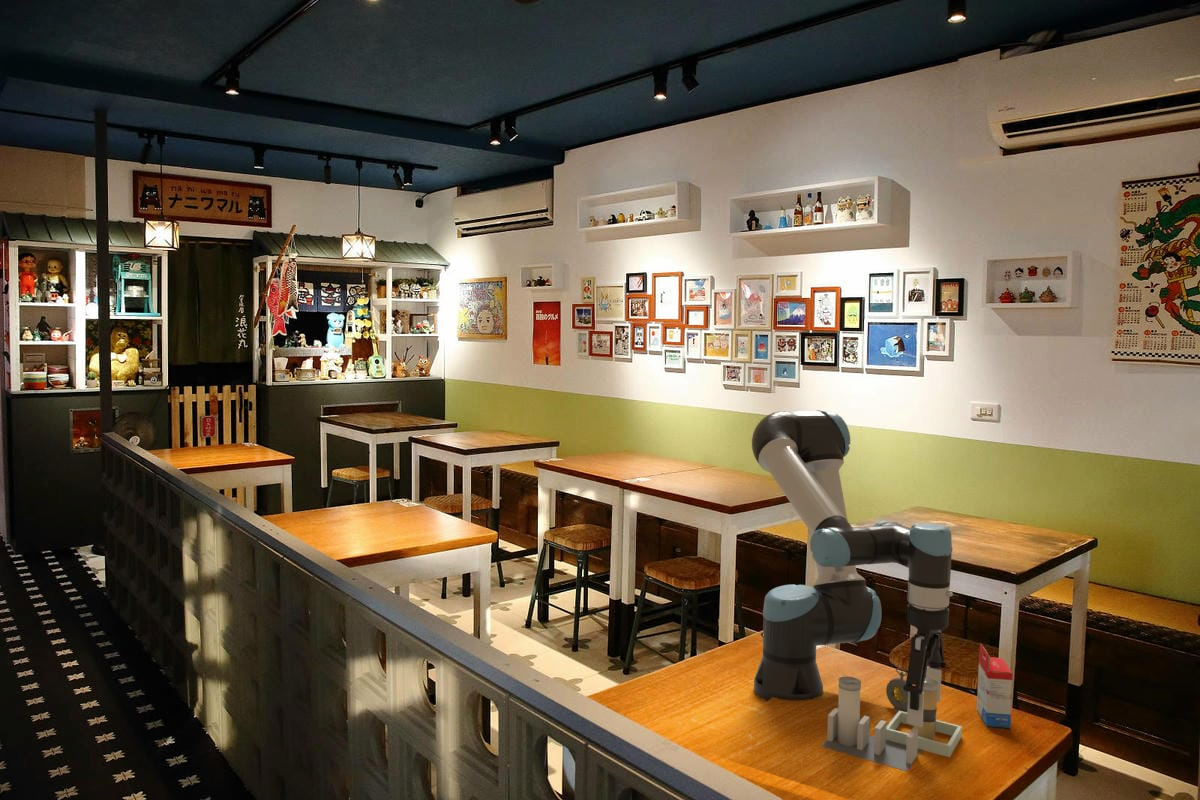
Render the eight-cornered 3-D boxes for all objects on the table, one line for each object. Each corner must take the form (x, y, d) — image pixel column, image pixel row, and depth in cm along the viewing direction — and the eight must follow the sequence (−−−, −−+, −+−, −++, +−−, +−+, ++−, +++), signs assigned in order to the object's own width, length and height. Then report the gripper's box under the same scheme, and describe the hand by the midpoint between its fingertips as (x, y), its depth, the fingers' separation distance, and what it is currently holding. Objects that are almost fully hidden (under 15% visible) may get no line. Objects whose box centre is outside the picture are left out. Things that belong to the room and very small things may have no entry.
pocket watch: (925, 705, 182) (927, 660, 182) (927, 722, 174) (928, 675, 174) (885, 700, 185) (887, 655, 184) (885, 716, 177) (887, 669, 176)
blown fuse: (909, 742, 164) (913, 681, 163) (915, 735, 167) (918, 675, 167) (931, 748, 161) (935, 687, 161) (936, 741, 165) (940, 681, 164)
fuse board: (820, 753, 160) (821, 720, 160) (838, 733, 169) (839, 702, 168) (907, 779, 151) (908, 744, 151) (921, 757, 160) (922, 723, 159)
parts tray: (884, 746, 164) (884, 728, 163) (898, 727, 172) (899, 710, 171) (949, 764, 157) (950, 746, 156) (961, 744, 165) (961, 726, 165)
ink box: (1011, 729, 172) (1014, 659, 171) (985, 726, 173) (988, 656, 172) (1000, 711, 180) (1003, 644, 179) (975, 709, 181) (978, 642, 180)
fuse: (833, 742, 162) (835, 681, 161) (841, 734, 165) (842, 674, 164) (855, 748, 160) (857, 686, 159) (861, 740, 163) (863, 679, 162)
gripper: (932, 626, 150) (928, 741, 151) (963, 592, 170) (958, 694, 172) (889, 618, 154) (885, 730, 156) (924, 586, 175) (920, 686, 176)
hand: (924, 712), depth 164 cm, fingers open, 13 cm apart
